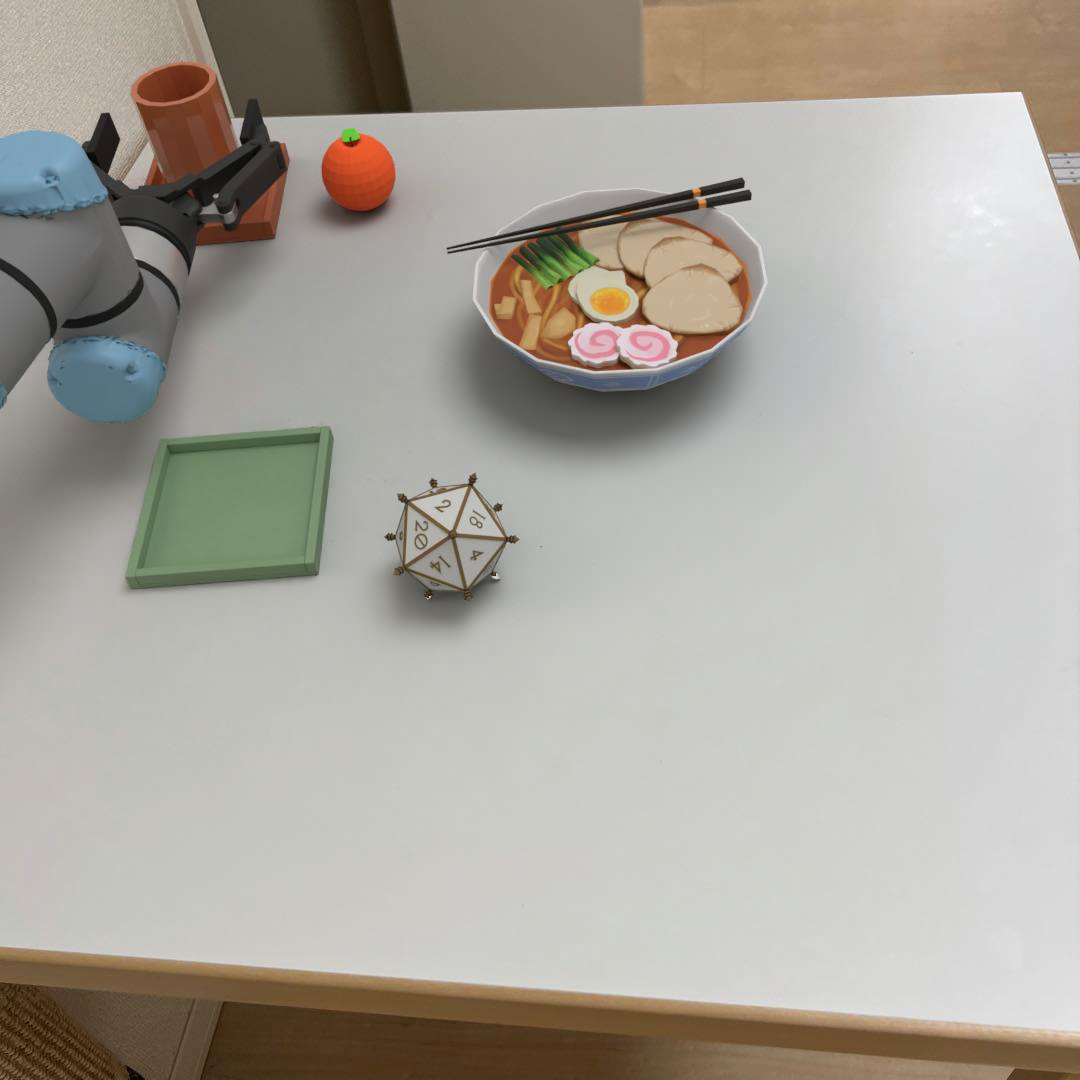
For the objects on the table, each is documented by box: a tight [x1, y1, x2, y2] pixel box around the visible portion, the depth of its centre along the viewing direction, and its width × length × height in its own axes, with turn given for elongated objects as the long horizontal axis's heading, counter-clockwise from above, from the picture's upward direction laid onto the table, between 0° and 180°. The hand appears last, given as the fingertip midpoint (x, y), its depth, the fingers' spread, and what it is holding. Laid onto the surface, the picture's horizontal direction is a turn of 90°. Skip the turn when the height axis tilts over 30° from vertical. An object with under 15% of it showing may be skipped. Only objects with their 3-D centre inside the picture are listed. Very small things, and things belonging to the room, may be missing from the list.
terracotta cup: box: [130, 61, 240, 197], centre depth 100 cm, size 8×8×12 cm
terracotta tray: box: [144, 142, 291, 246], centre depth 104 cm, size 13×13×2 cm
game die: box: [383, 472, 521, 604], centre depth 71 cm, size 9×8×10 cm
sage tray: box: [124, 425, 335, 589], centre depth 79 cm, size 13×13×1 cm
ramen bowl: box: [446, 176, 769, 393], centre depth 85 cm, size 25×23×8 cm
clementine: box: [320, 127, 397, 212], centre depth 101 cm, size 8×7×7 cm
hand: (183, 119), depth 98 cm, fingers open, 13 cm apart
